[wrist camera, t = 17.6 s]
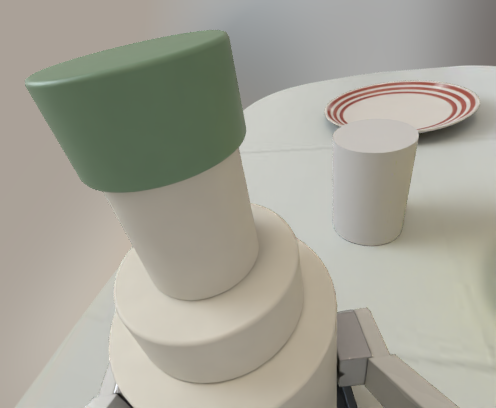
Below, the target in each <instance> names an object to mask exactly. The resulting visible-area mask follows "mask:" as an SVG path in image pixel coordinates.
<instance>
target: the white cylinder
mask: <svg viewBox="0 0 496 408" xmlns="http://www.w3.org/2000/svg"><path fill="white" fill-rule="evenodd" d="M418 138H419V133H418V131H417V129H416V128H414V127H413V126H411V125H409V124H407V123H404V122H401V121H397V120H391V119H365V120H359V121H354V122H351V123H348V124H345V125H343V126H341V127H339V128H338V129H337V130H336V131H335V132H334V133H333V227H334V229H335V231H336V232H337V233H338V234H339V235H340V236H341V237H342V238H344V239H346V240H348V241H350V242H352V243H355V244H359V245H366V246H377V245H383V244H386V243H389V242H391V241H393V240H395V239H396V238H397V237H398V236H399V235H400V233H401V231H402V226H403V221H404V215H405V210H406V204H407V199H408V193H409V188H410V182H411V177H412V171H413V166H414V160H415V155H416V149H417V144H418Z"/></svg>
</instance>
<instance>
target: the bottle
mask: <svg viewBox="0 0 496 408" xmlns="http://www.w3.org/2000/svg"><path fill="white" fill-rule="evenodd" d="M25 86H26V88H27V89H28V91H29V93H30V94H31V96H32V98H33V100H34V101H35V103H36V105H37V106H38V108H39V110H40V111H41V113H42V115H43V116H44V118H45V120H46V122H47V123H48V125H49V127H50V128H51V130H52V132H53V133H54V135H55V137H56V138H57V140H58V142H59V144H60V145H61V147H62V149H63V150H64V152H65V154H66V155H67V157H68V159H69V161H70V162H71V164H72V166H73V167H74V169H75V170H76V172H77V174H78V176H79V177H80V179H81V181H82V182H83V183H85V184H86V185H87V186H89V187H91V188H93V189H95V190H99V191H102V192H103V193H104V195H105V197H106V198H107V200H108V202H109V204H110V206H111V208H112V209H113V211H114V213H115V215H116V217H117V218H118V220H119V222H120V224H121V226H122V227H123V229H124V231H125V233H126V235H127V236H128V238H129V240H130V242H131V244H132V245H133V246H132V248H131V249H130V250H129V252H128V253H127V254H126V256H125V258H124V259H123V261H122V262H121V265H120V267H119V269H118V271H117V274H116V278H115V282H114V304H115V309H116V311H115V314H114V317H113V321H112V324H111V329H110V336H109V358H110V365H111V370H112V373H113V376H114V379H115V382H116V384H117V385H118V387H119V389H120V391H121V393H122V394H123V396H124V397H125V398H126V399H127V401H128V402H129V403H130V404H131V405H132V407H133V408H337V302H336V293H335V289H334V286H333V282H332V279H331V277H330V275H329V273H328V270H327V268H326V267H325V265H324V264H323V262H322V261H321V259H320V258H319V257H318V256H317V255H316V253H315V252H314V251H313V250H312V249H311V248H310V247H308V246H307V245H306V244H305V243H304V242H302V241H301V240H299V239H298V238H296V237H295V234H294V233H293V231H292V229H291V228H290V226H289V225H288V224H287V223H286V221H285V220H284V219H283V218H281V217H280V216H279V215H278V214H276V213H275V212H273V211H271V210H270V209H267V208H265V207H263V206H260V205H257V204H253V203H250V199H249V195H248V190H247V185H246V180H245V175H244V171H243V166H242V161H241V156H240V152H239V146H240V145H241V143H242V142H243V140H244V137H245V134H246V125H245V120H244V115H243V110H242V104H241V98H240V93H239V88H238V82H237V78H236V72H235V66H234V61H233V55H232V50H231V45H230V39H229V36H228V34H227V33H226V32H224V31H220V30H207V31H197V32H190V33H184V34H178V35H172V36H167V37H161V38H157V39H152V40H147V41H142V42H138V43H133V44H129V45H125V46H121V47H117V48H113V49H109V50H105V51H101V52H97V53H93V54H90V55H86V56H83V57H80V58H76V59H73V60H70V61H67V62H63V63H60V64H57V65H54V66H51V67H49V68H46V69H44V70H41V71H39V72H36V73H34V74H32V75H31V76H30V77H28V78H27V79H26V80H25Z"/></svg>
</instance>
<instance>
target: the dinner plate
mask: <svg viewBox="0 0 496 408" xmlns="http://www.w3.org/2000/svg"><path fill="white" fill-rule="evenodd" d="M479 106H480V98H479V97H478V95H477V94H476V93H474V92H473V91H471V90H469V89H467V88H465V87H462V86H458V85H454V84H450V83H444V82H435V81H419V80H410V81H395V82H386V83H379V84H373V85H369V86H364V87H360V88H357V89H354V90H351V91H348V92H345V93H343V94H341V95H339V96H337V97H336V98H334V99H333V100H331V101H330V102H329V103H328V104H327V105H326V107H325V111H324V112H325V116H326V118H327V119H328V120H329V121H330V122H332V123H333V124H335V125H337V126H339V127H341V126H343V125H345V124H348V123H351V122H354V121H359V120H365V119H391V120H397V121H401V122H404V123H407V124H409V125H411V126H413V127H414V128H416V129H417V131H418V133H423V132H429V131H434V130H438V129H442V128H445V127H448V126H451V125H454V124H456V123H459V122H461V121H463V120H465V119H466V118H468V117H470V116H471V115H473V114H474V113H475V112H476V111H477V110H478V108H479Z"/></svg>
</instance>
